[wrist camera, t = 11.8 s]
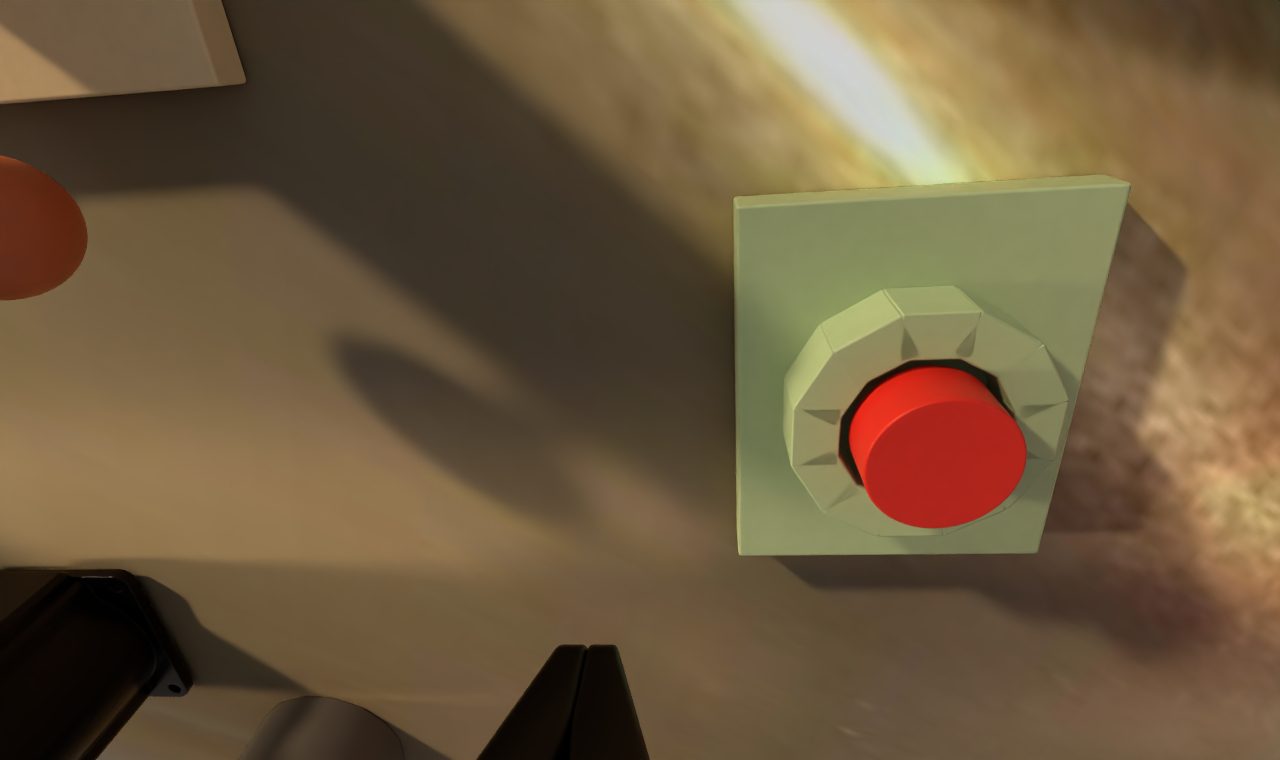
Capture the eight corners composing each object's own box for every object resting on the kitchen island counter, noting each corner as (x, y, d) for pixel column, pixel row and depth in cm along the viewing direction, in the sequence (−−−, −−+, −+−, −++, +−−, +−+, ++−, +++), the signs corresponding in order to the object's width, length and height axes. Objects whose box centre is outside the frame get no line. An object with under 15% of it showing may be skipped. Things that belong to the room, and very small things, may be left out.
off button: (983, 485, 17) (1012, 529, 16) (843, 487, 18) (857, 530, 16) (1008, 361, 16) (1042, 396, 14) (852, 366, 16) (869, 401, 14)
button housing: (1021, 528, 21) (1068, 599, 18) (736, 531, 22) (742, 599, 19) (1104, 173, 16) (1185, 199, 13) (733, 196, 17) (740, 224, 14)
